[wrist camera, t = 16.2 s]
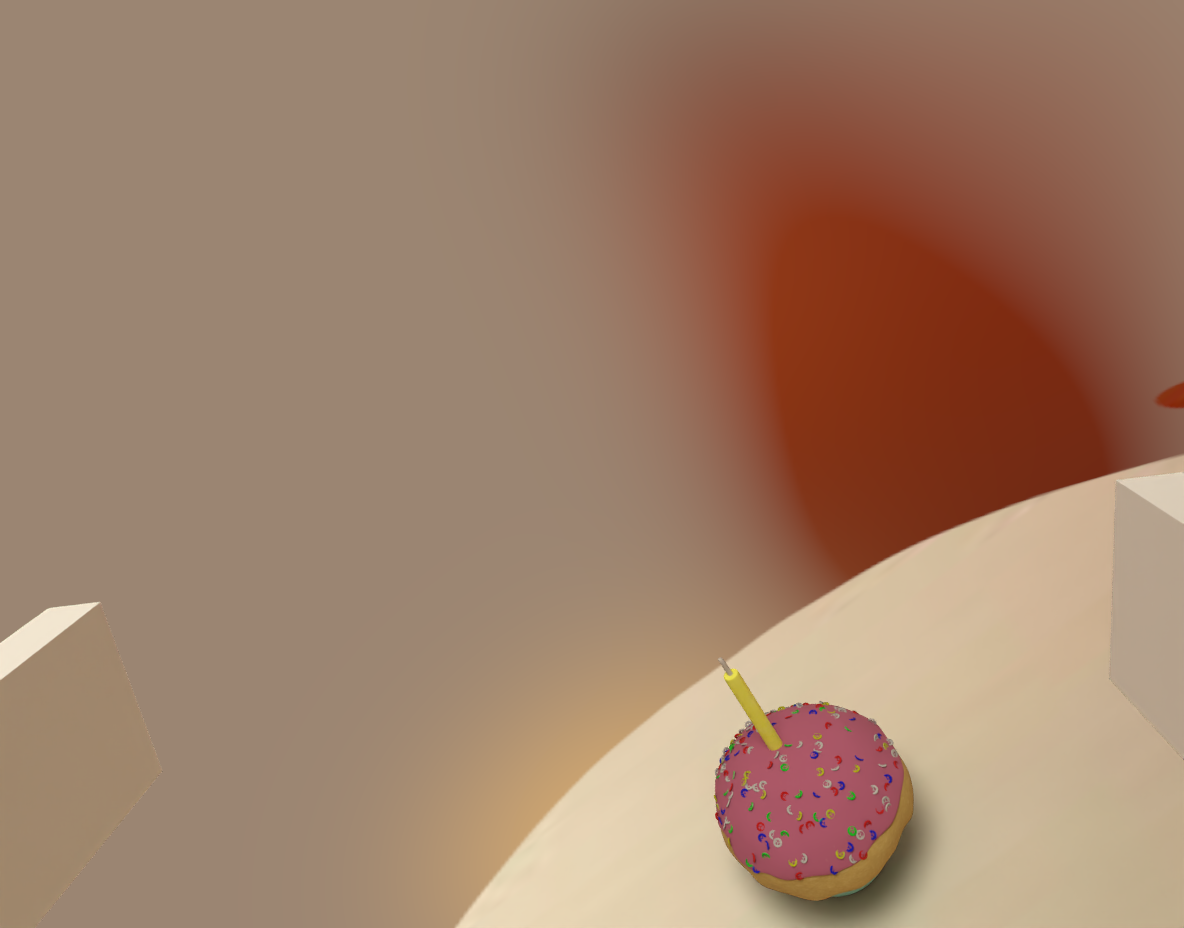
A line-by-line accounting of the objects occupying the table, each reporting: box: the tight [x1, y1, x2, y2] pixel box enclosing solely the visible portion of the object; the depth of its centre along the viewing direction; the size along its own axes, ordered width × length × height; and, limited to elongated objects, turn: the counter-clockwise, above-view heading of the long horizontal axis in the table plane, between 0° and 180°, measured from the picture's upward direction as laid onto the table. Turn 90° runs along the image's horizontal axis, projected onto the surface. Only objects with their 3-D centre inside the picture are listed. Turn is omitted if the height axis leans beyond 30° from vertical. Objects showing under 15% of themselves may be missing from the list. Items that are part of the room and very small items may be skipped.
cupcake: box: [714, 658, 913, 900], centre depth 37 cm, size 9×8×12 cm
